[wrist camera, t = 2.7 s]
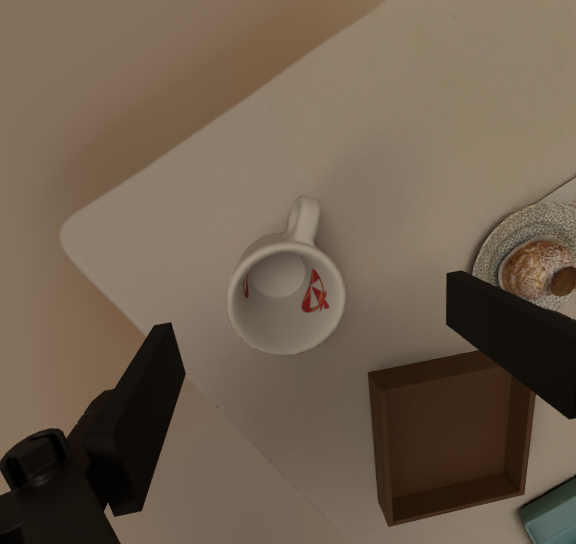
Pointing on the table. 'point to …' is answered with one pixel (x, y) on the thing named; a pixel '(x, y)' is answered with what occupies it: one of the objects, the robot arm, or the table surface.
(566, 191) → the fork
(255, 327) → the cup
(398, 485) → the tray
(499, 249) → the pastry
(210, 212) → the table surface
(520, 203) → the table surface
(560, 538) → the shallow long dish
